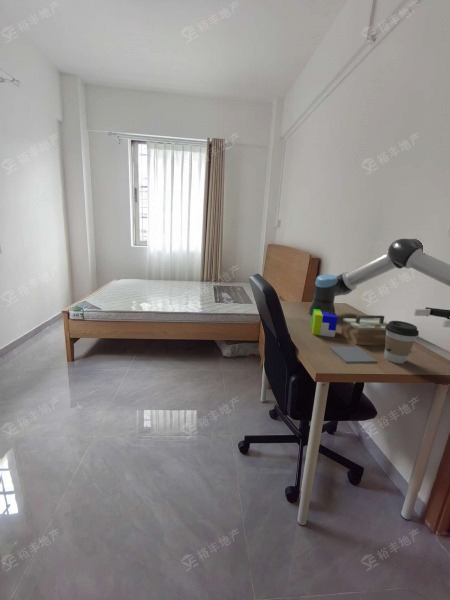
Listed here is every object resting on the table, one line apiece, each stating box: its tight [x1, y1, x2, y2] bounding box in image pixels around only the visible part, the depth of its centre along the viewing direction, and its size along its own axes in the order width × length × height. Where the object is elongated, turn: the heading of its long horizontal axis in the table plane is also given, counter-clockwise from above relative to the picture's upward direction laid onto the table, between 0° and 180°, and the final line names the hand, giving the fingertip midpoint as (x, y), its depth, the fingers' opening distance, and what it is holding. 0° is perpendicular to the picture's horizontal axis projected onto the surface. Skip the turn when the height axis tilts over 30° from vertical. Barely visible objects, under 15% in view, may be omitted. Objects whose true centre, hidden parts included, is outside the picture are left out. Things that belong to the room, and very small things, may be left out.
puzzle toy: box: [310, 309, 339, 338], centre depth 135 cm, size 10×10×10 cm
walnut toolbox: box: [340, 314, 389, 346], centre depth 129 cm, size 13×19×12 cm
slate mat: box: [329, 346, 378, 364], centre depth 112 cm, size 13×13×1 cm
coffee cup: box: [384, 320, 420, 364], centre depth 109 cm, size 11×11×15 cm
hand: (428, 317), depth 107 cm, fingers open, 13 cm apart
